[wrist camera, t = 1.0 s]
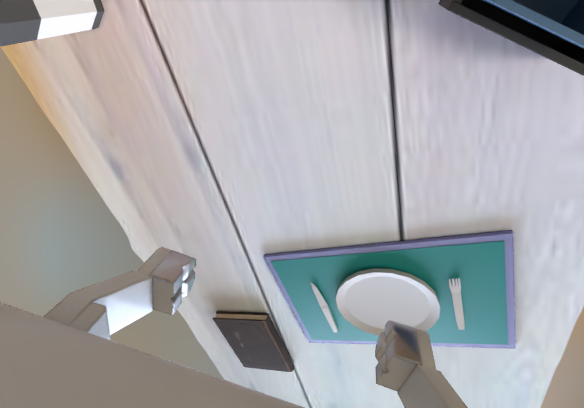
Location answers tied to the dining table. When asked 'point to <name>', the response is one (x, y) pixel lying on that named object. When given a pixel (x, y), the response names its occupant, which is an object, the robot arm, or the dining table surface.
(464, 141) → the dining table surface
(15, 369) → the robot arm
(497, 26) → the tote
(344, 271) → the place mat
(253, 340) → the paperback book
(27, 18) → the wine bottle
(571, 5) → the caddy
